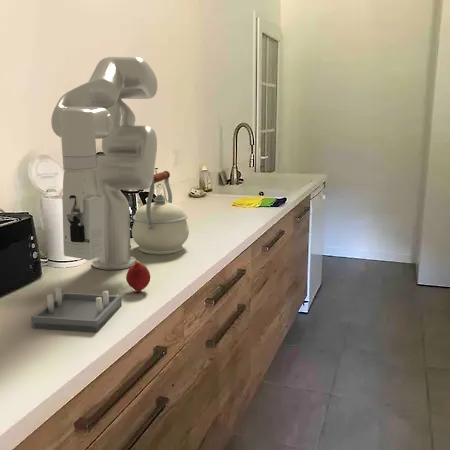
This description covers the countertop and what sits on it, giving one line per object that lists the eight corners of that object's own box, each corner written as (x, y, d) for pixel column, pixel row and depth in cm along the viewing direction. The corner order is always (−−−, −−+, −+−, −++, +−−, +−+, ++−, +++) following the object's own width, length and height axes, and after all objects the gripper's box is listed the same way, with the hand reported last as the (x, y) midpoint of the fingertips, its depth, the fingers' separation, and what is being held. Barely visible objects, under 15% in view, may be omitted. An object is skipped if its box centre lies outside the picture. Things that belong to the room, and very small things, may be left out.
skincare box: (63, 256, 124) (58, 195, 120) (80, 249, 129) (76, 191, 125) (91, 261, 120) (87, 198, 117) (107, 254, 126) (104, 194, 122)
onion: (151, 287, 131) (151, 257, 129) (149, 295, 125) (148, 263, 124) (128, 287, 131) (127, 257, 129) (125, 295, 125) (124, 263, 124)
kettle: (178, 259, 157) (177, 177, 151) (121, 255, 160) (118, 175, 155) (198, 240, 181) (198, 169, 175) (148, 237, 184) (147, 167, 179)
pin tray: (63, 302, 120) (62, 281, 119) (121, 305, 119) (120, 284, 117) (31, 328, 106) (30, 304, 105) (97, 332, 104) (96, 308, 103)
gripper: (79, 158, 128) (83, 228, 132) (47, 167, 111) (53, 247, 116) (108, 159, 127) (112, 229, 131) (80, 168, 110) (85, 248, 115)
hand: (84, 236), depth 124 cm, fingers closed on skincare box, 7 cm apart
